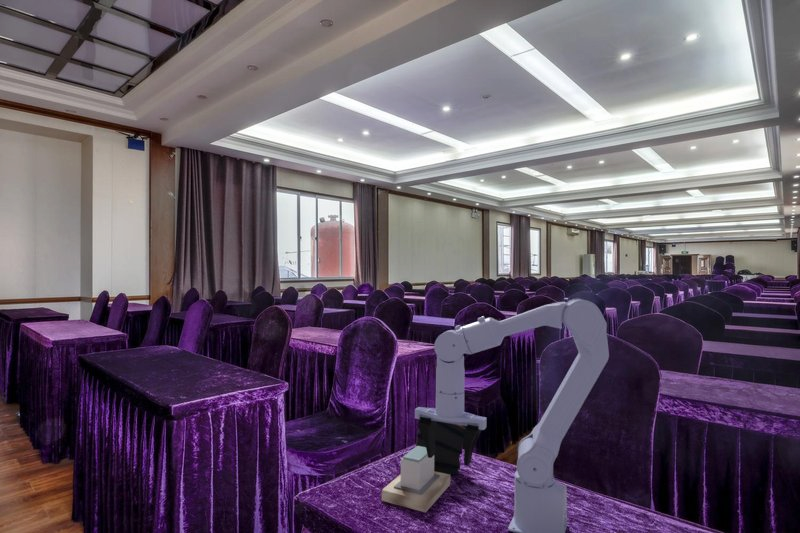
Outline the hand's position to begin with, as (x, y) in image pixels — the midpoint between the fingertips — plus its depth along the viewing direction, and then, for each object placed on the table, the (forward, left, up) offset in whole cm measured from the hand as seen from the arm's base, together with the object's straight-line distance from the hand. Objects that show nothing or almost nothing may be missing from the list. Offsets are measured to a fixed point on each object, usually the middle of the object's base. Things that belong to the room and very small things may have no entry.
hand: (449, 459), depth 89 cm
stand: (+9, -5, -10) cm, 15 cm away
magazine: (+9, -18, -11) cm, 22 cm away
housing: (+9, -5, -8) cm, 13 cm away
